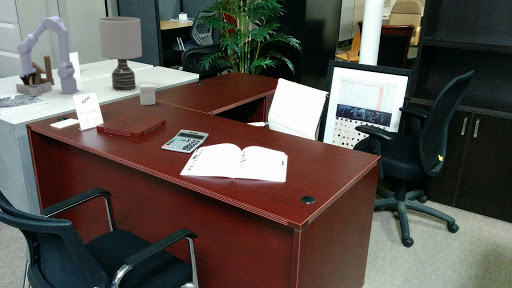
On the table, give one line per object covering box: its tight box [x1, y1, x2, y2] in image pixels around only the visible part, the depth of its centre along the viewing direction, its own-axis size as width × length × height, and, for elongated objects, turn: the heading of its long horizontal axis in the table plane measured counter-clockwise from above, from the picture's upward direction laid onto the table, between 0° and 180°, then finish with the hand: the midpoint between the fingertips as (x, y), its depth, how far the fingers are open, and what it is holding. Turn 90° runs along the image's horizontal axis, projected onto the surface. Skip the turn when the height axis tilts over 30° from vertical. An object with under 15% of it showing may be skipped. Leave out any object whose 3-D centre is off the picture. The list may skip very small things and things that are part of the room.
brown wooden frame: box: [32, 55, 55, 86], centre depth 277 cm, size 4×11×18 cm, turn 100°
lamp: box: [97, 16, 143, 91], centre depth 273 cm, size 24×24×42 cm
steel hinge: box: [15, 82, 53, 97], centre depth 262 cm, size 16×16×5 cm
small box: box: [139, 83, 156, 106], centre depth 251 cm, size 8×6×10 cm
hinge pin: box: [29, 76, 33, 86], centre depth 267 cm, size 4×4×8 cm
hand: (30, 86), depth 268 cm, fingers open, 5 cm apart
